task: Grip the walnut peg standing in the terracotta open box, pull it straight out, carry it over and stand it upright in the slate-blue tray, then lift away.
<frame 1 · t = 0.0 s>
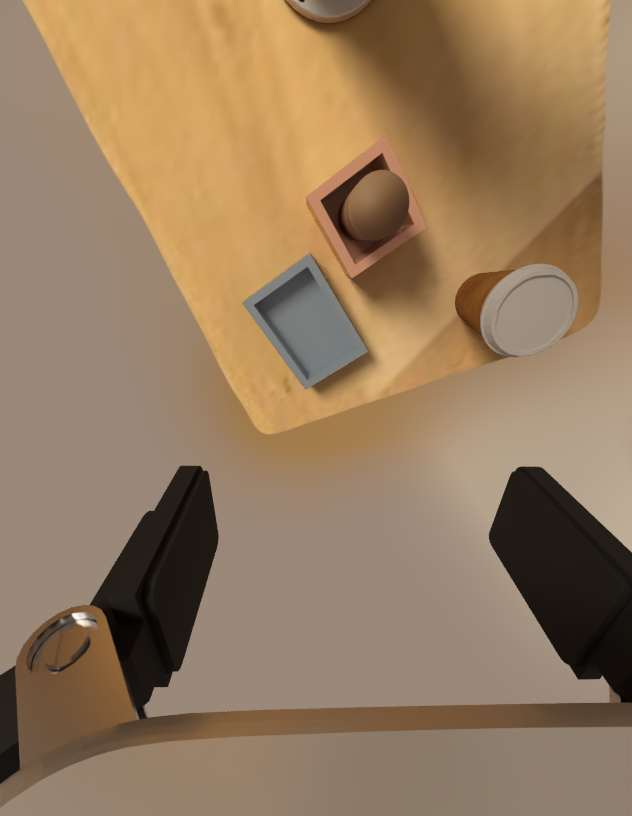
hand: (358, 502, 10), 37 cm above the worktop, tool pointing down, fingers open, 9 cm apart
terracotta open box: (358, 217, 39), on the worktop
disposable coffee cup: (477, 297, 44), on the worktop
peg: (359, 217, 38), point 1 cm above the worktop, touching terracotta open box
tray: (307, 322, 44), on the worktop
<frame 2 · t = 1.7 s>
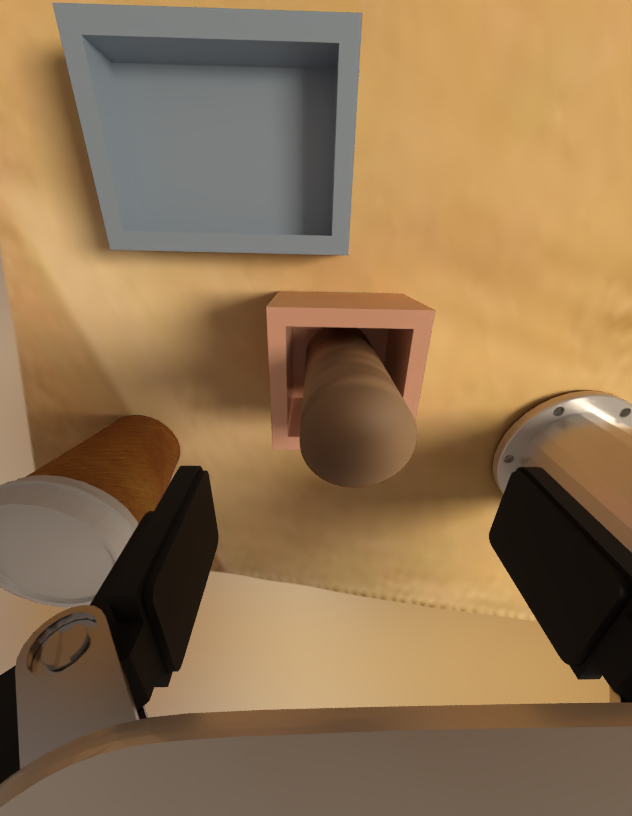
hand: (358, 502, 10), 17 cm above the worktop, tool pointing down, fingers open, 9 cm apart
terracotta open box: (338, 352, 25), on the worktop
disposable coffee cup: (146, 444, 29), on the worktop
peg: (338, 356, 24), point 1 cm above the worktop, touching terracotta open box
tray: (235, 162, 20), on the worktop
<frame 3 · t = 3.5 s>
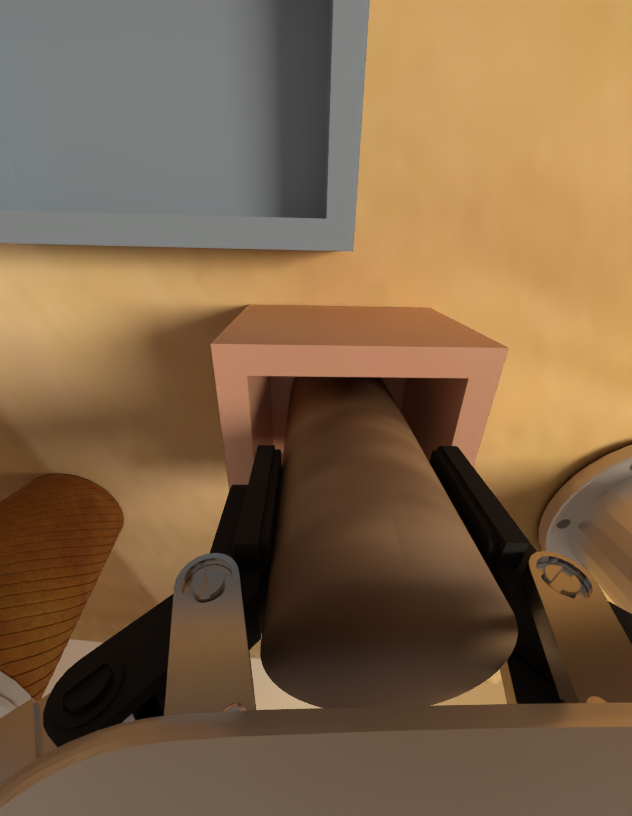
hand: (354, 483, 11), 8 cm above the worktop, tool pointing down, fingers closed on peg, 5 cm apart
terracotta open box: (336, 389, 18), on the worktop
disposable coffee cup: (76, 508, 22), on the worktop
peg: (337, 397, 17), point 1 cm above the worktop, touching terracotta open box, gripper
tray: (168, 100, 12), on the worktop
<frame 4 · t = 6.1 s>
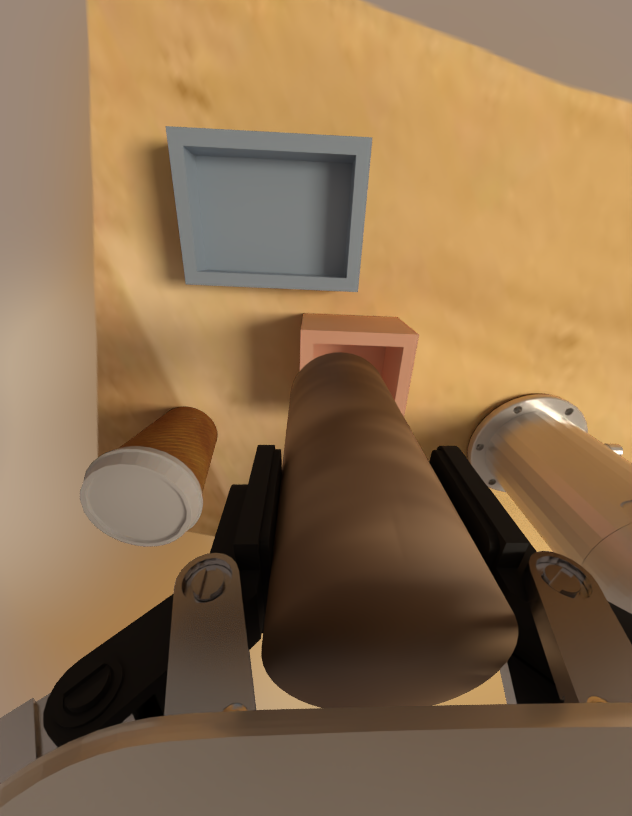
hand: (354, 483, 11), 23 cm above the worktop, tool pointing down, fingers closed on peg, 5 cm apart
terracotta open box: (346, 360, 33), on the worktop
disposable coffee cup: (190, 430, 36), on the worktop
peg: (337, 398, 17), point 16 cm above the worktop, touching gripper
tray: (276, 220, 27), on the worktop
when the fingers open (9 cm above the worktop, at t = 8.9 s): peg stays where it is, resting on tray.
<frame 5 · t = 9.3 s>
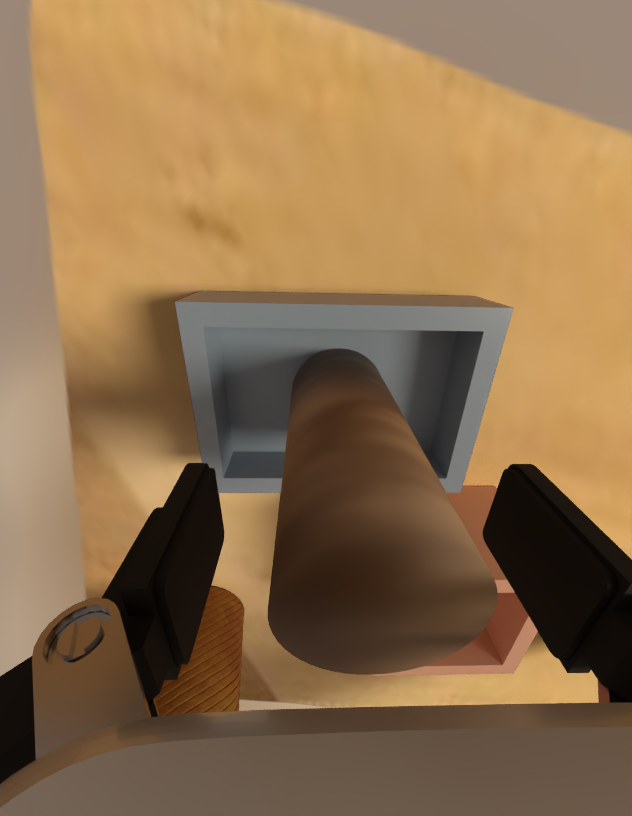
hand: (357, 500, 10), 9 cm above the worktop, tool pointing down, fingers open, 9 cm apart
terracotta open box: (420, 532, 24), on the worktop
disposable coffee cup: (208, 606, 28), on the worktop
peg: (337, 392, 18), point 1 cm above the worktop, touching tray
tray: (334, 384, 19), on the worktop
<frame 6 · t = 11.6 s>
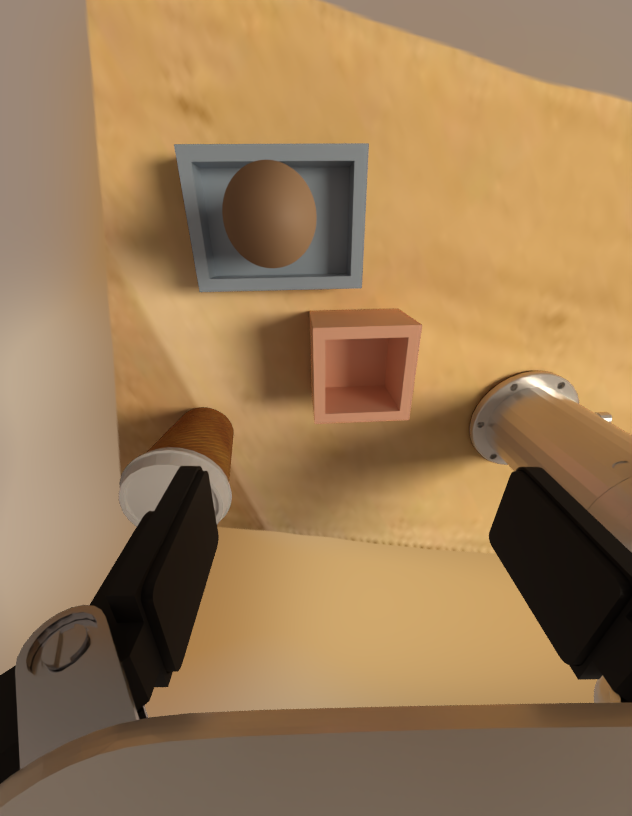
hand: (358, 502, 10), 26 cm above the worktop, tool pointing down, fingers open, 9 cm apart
terracotta open box: (352, 352, 35), on the worktop
disposable coffee cup: (206, 429, 38), on the worktop
peg: (279, 225, 28), point 1 cm above the worktop, touching tray
tray: (279, 225, 29), on the worktop
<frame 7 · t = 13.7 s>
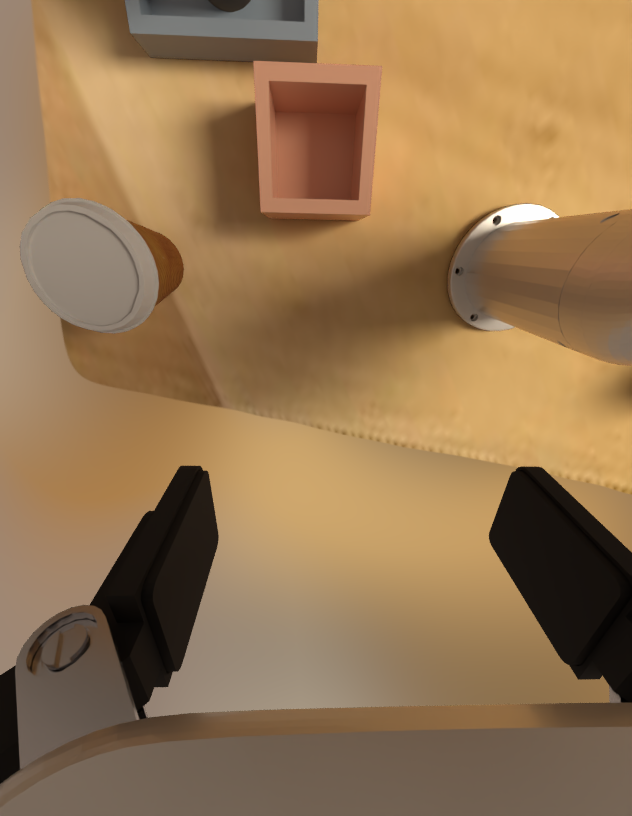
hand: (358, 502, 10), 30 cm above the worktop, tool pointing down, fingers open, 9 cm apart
terracotta open box: (314, 164, 31), on the worktop
disposable coffee cup: (154, 264, 35), on the worktop
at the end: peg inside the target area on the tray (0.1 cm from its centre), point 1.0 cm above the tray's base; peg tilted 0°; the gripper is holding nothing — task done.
